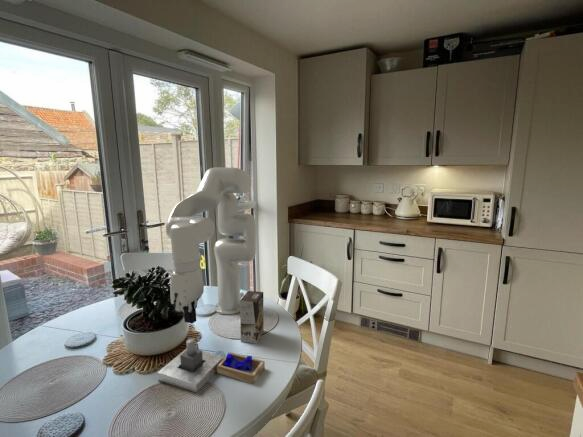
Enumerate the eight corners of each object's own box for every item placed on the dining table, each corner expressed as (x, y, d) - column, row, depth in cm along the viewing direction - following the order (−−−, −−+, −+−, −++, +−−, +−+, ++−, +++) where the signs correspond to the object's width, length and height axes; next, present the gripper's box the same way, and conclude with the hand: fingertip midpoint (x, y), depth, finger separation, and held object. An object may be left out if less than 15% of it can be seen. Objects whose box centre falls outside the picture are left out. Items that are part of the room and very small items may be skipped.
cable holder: (224, 371, 100) (224, 360, 100) (228, 364, 104) (228, 353, 103) (249, 374, 99) (249, 363, 98) (252, 367, 103) (252, 356, 102)
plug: (191, 364, 103) (189, 335, 101) (202, 367, 101) (201, 339, 99) (181, 372, 99) (179, 343, 97) (193, 376, 97) (191, 346, 95)
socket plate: (188, 353, 109) (188, 345, 108) (223, 363, 104) (223, 354, 103) (157, 379, 96) (157, 370, 95) (196, 392, 91) (196, 382, 91)
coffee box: (257, 343, 115) (256, 302, 112) (240, 341, 116) (239, 300, 113) (264, 330, 124) (264, 291, 121) (248, 328, 125) (247, 289, 122)
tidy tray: (230, 359, 106) (230, 352, 106) (264, 368, 102) (264, 361, 101) (217, 373, 99) (216, 365, 99) (253, 383, 95) (253, 376, 94)
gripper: (192, 255, 102) (195, 308, 106) (157, 272, 88) (163, 331, 92) (212, 258, 99) (215, 312, 103) (179, 276, 85) (184, 337, 89)
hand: (190, 321), depth 98 cm, fingers closed
